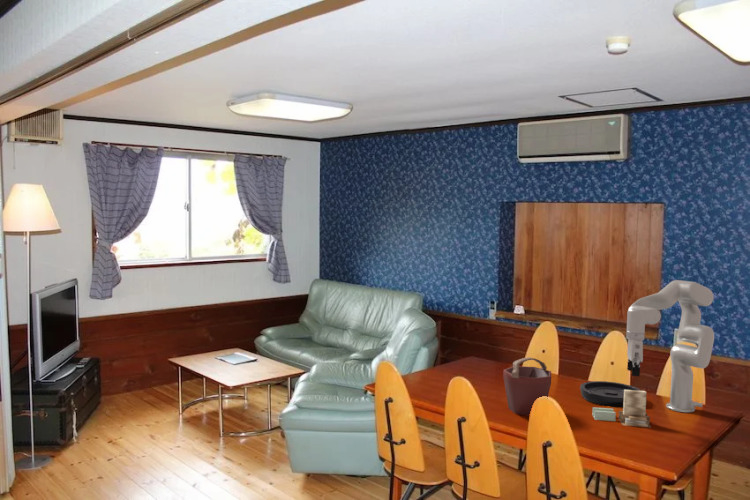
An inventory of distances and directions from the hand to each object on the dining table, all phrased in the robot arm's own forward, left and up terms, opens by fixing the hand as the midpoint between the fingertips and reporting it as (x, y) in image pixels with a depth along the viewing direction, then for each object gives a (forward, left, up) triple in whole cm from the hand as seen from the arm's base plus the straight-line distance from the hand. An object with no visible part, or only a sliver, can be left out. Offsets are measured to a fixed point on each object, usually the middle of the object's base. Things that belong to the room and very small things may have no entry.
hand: (633, 373), depth 283 cm
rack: (-1, +3, -23) cm, 23 cm away
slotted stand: (+12, -1, -23) cm, 26 cm away
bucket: (+46, -7, -23) cm, 52 cm away
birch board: (-1, +1, -22) cm, 22 cm away
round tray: (+2, -35, -23) cm, 42 cm away
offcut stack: (-1, +6, -22) cm, 23 cm away
